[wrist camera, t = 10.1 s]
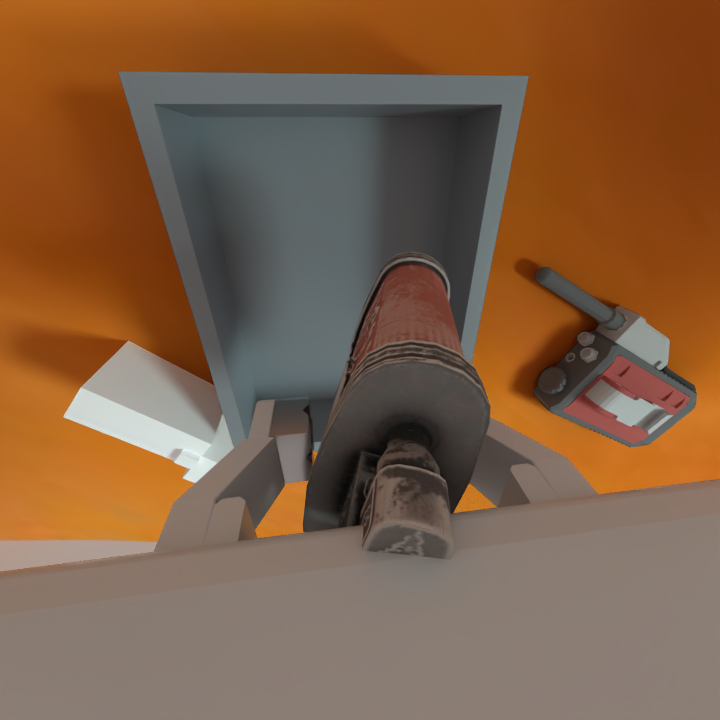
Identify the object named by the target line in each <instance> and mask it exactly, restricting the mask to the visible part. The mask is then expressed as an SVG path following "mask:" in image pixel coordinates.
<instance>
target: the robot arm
mask: <svg viewBox="0 0 720 720" xmlns="http://www.w3.org/2000/svg"><path fill="white" fill-rule="evenodd" d="M313 450H314V430H313V420H312V418H311V404H310V398H309V397H298V398H284V399H276V400H275V399H271V400H259V401H258V402H257V403H256V407H255V412H254V416H253V420H252V424H251V429H250V433H249V437H248V439H247V440H242V441H241V442H240V443H239V444H238V445H237V446H236V447H235V448H233V449H232V450H231V451H230V452H229V453H228V454H227V455H226V456H225V457H224V458H222V459H221V460H220V461H219V462H218V463H217V464H216V465H215V466H214V467H213V468H211V469H210V470H209V471H208V472H207V473H206V474H205V475H204V476H203V477H202V478H200V479H199V480H198V481H197V482H196V483H195V484H194V485H193V486H192V487H191V488H189V489H188V490H187V491H186V492H185V493H184V494H183V495H182V496H181V497H180V498H178V499H177V500H176V501H175V502H174V504H173V506H172V508H171V511H170V513H169V516H168V518H167V521H166V523H165V525H164V528H163V530H162V533H161V535H160V538H159V540H158V542H157V545H156V547H155V550H154V552H149V553H141V554H134V555H125V556H118V557H110V558H102V559H94V560H87V561H79V562H71V563H63V564H56V565H48V566H41V567H32V568H25V569H17V570H10V571H1V572H0V720H720V479H716V480H708V481H700V482H693V483H685V484H677V485H669V486H661V487H654V488H646V489H638V490H630V491H623V492H615V493H607V494H599V495H598V494H597V492H596V491H595V490H594V489H593V488H592V486H591V485H590V484H589V483H588V482H587V481H586V479H585V478H584V477H583V476H582V475H581V474H580V472H579V471H578V470H577V469H576V468H575V467H574V465H573V464H572V463H571V462H570V461H569V460H568V458H566V457H565V456H563V455H561V454H559V453H557V452H555V451H553V450H551V449H549V448H548V447H546V446H544V445H542V444H540V443H538V442H536V441H534V440H532V439H531V438H529V437H527V436H525V435H523V434H521V433H519V432H517V431H515V430H514V429H512V428H510V427H508V426H506V425H504V424H502V423H500V422H499V421H497V420H495V419H493V418H491V417H490V424H489V427H488V430H487V433H486V436H485V439H484V442H483V445H482V448H481V451H480V454H479V457H478V460H477V463H476V466H475V469H474V472H473V475H472V478H471V480H470V482H469V483H470V484H472V485H473V486H474V487H475V488H476V489H477V490H478V491H480V492H481V493H482V494H483V495H484V496H485V497H486V498H488V499H489V500H490V501H491V502H492V503H493V504H495V505H496V506H497V508H490V509H482V510H475V511H467V512H459V513H451V522H452V530H453V539H454V547H455V550H454V552H453V554H452V556H451V558H450V560H448V559H440V558H432V557H424V556H415V555H404V554H393V553H383V552H372V551H362V541H363V525H358V526H350V527H343V528H335V529H327V530H319V531H312V532H304V533H296V534H288V535H280V536H273V537H265V538H257V536H256V532H255V529H256V528H257V526H258V525H259V523H260V522H261V520H262V519H263V517H264V516H265V514H266V513H267V511H268V510H269V508H270V507H271V505H272V504H273V502H274V501H275V499H276V498H277V496H278V495H279V493H280V492H281V490H282V489H283V487H284V486H285V484H286V483H293V482H300V481H308V480H309V478H310V475H311V471H312V468H313V465H314V454H313Z"/></svg>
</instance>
